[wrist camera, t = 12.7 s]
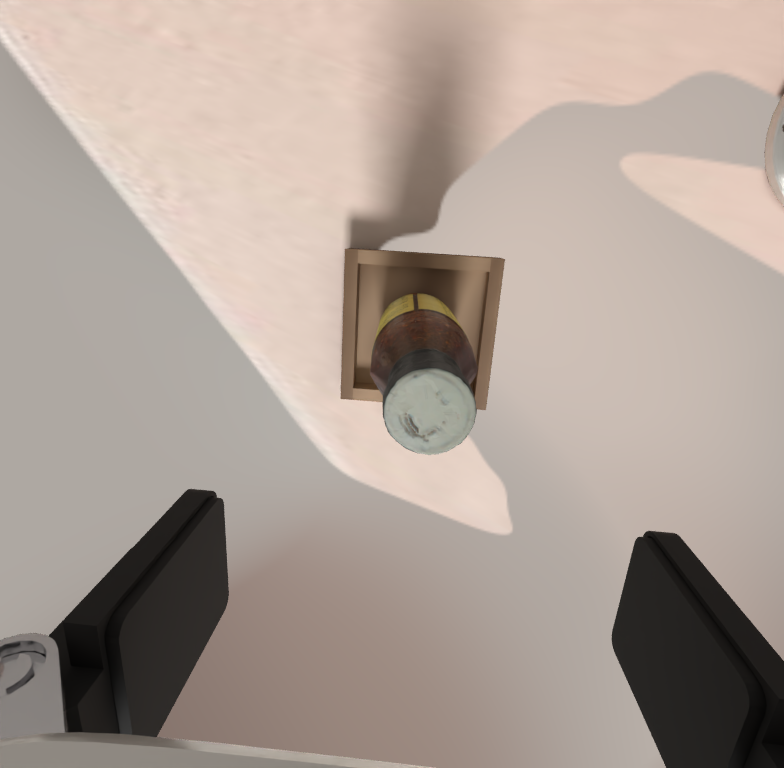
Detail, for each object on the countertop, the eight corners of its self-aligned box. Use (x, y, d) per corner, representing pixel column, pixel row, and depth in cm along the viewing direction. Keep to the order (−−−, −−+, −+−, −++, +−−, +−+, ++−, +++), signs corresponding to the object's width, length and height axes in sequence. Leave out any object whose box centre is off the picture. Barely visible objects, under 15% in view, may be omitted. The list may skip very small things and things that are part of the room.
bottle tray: (499, 257, 38) (504, 259, 35) (482, 399, 41) (485, 409, 39) (349, 248, 38) (345, 248, 36) (345, 389, 42) (340, 398, 40)
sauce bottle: (382, 366, 40) (347, 483, 21) (377, 291, 38) (334, 346, 20) (460, 363, 40) (495, 480, 21) (459, 288, 38) (496, 340, 19)
